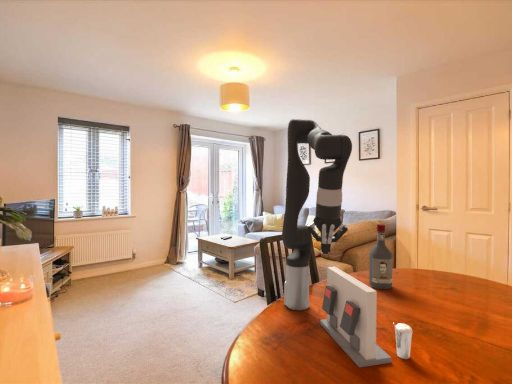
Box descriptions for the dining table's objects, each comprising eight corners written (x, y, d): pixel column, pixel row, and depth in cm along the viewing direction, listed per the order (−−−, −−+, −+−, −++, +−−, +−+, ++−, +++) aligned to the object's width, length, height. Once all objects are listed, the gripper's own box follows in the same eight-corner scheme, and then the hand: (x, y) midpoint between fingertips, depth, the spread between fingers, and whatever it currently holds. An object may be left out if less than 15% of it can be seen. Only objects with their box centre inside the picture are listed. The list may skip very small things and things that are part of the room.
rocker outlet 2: (347, 335, 82) (354, 307, 82) (339, 326, 87) (345, 300, 87) (353, 335, 82) (360, 308, 82) (344, 327, 87) (351, 301, 87)
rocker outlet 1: (328, 314, 95) (332, 290, 95) (321, 308, 100) (325, 285, 100) (332, 315, 95) (337, 291, 95) (326, 308, 100) (329, 286, 100)
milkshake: (388, 352, 86) (389, 319, 86) (405, 351, 87) (406, 318, 86) (397, 361, 82) (397, 326, 81) (415, 360, 82) (416, 325, 82)
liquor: (368, 282, 146) (368, 223, 145) (387, 283, 145) (387, 223, 144) (373, 288, 137) (373, 226, 136) (393, 289, 136) (394, 226, 135)
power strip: (359, 367, 79) (359, 293, 78) (319, 323, 103) (320, 267, 103) (391, 362, 81) (392, 290, 80) (345, 320, 106) (345, 265, 105)
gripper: (348, 198, 91) (343, 248, 96) (305, 197, 92) (303, 247, 97) (354, 205, 84) (348, 259, 89) (308, 204, 85) (305, 257, 90)
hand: (325, 252), depth 93 cm, fingers closed
